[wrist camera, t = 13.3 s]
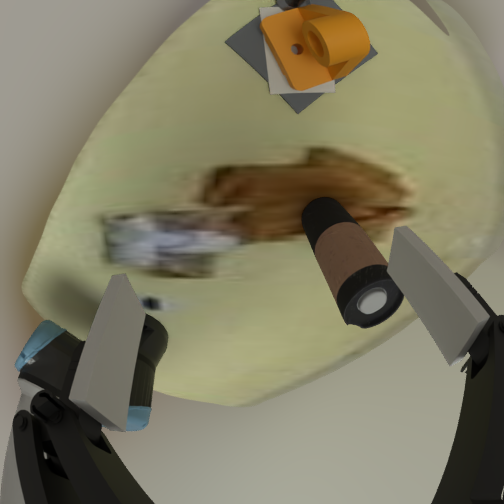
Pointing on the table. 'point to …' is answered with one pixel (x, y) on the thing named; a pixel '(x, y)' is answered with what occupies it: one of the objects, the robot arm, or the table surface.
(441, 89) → the table surface
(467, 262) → the table surface
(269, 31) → the bracket
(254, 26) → the mat
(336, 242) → the travel mug
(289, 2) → the grey smooth fixture
